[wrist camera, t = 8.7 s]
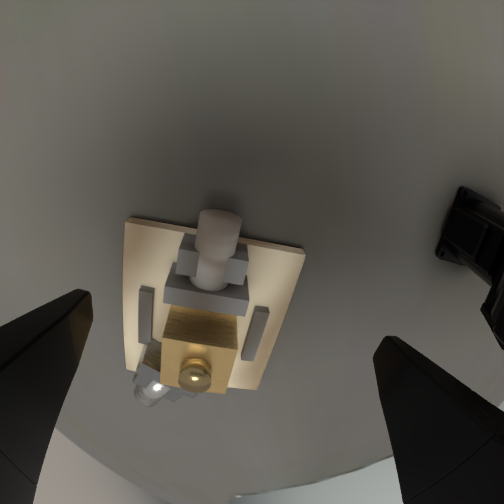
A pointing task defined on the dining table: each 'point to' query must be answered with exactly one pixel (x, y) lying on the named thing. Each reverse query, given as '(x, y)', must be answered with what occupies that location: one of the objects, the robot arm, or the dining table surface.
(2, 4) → the dining table surface
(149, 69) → the dining table surface
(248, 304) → the cream mounting plate
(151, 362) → the shaft
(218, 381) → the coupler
